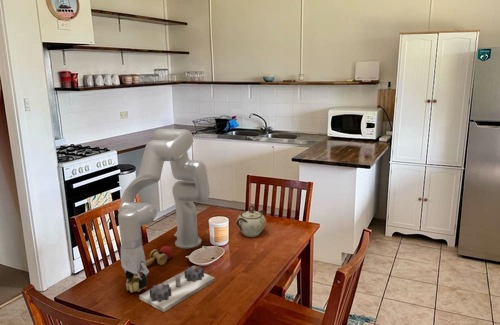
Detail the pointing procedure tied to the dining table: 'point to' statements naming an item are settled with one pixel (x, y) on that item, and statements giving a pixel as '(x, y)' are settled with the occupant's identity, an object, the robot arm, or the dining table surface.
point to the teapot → (251, 222)
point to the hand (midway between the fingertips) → (136, 283)
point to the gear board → (177, 288)
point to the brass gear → (133, 284)
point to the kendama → (160, 255)
